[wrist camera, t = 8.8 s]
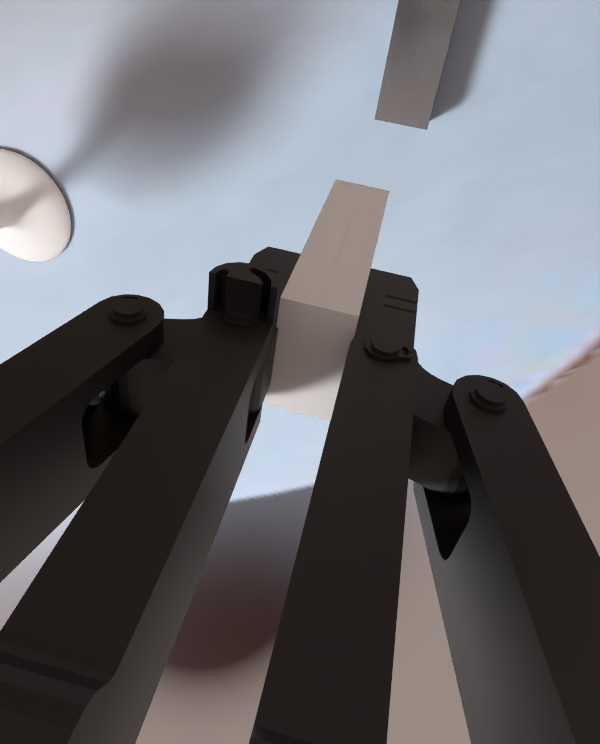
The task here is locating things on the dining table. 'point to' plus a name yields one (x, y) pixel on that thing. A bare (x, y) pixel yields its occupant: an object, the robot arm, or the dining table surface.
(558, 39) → the dining table surface
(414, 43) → the rail track
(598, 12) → the dining table surface
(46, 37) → the dining table surface
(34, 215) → the wineglass
